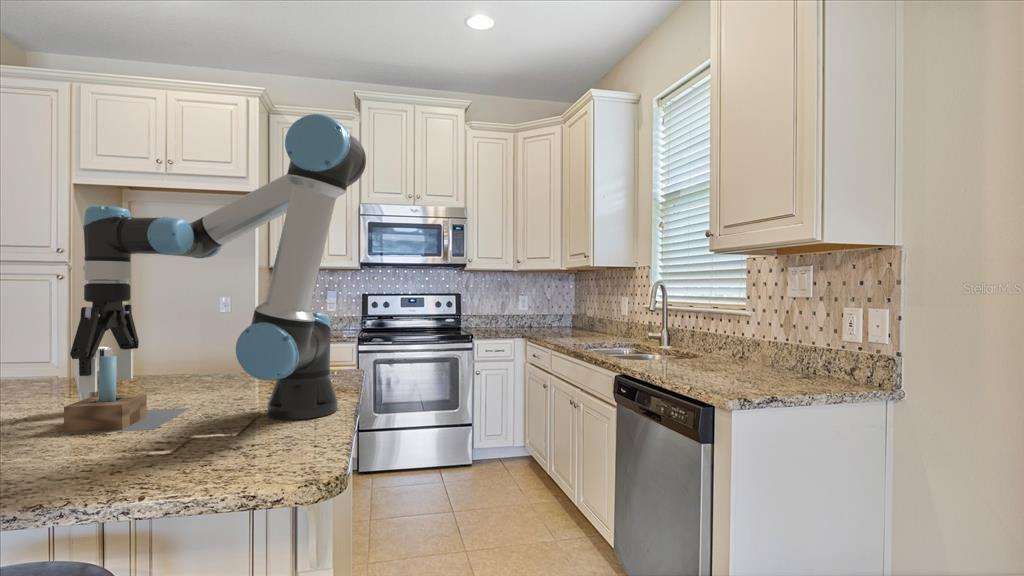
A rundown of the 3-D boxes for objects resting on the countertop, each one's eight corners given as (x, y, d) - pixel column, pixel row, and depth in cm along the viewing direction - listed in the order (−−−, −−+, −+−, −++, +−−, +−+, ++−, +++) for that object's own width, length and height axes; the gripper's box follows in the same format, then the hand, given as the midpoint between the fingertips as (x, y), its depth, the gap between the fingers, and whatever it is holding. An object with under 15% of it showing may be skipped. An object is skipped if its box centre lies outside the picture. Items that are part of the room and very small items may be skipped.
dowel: (118, 422, 107) (119, 355, 107) (110, 425, 105) (112, 357, 104) (103, 422, 107) (104, 355, 107) (95, 426, 104) (96, 357, 104)
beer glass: (96, 418, 113) (96, 350, 113) (65, 417, 113) (65, 349, 113) (121, 410, 120) (121, 346, 120) (91, 409, 120) (91, 345, 120)
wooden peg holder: (146, 416, 112) (146, 394, 112) (122, 429, 102) (122, 404, 102) (93, 419, 110) (93, 395, 110) (63, 432, 100) (63, 406, 100)
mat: (189, 410, 120) (190, 408, 120) (153, 432, 102) (153, 429, 102) (111, 413, 116) (111, 411, 116) (60, 437, 99) (60, 433, 99)
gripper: (119, 282, 117) (119, 375, 117) (45, 282, 93) (45, 399, 93) (156, 282, 119) (156, 374, 119) (93, 282, 94) (93, 397, 94)
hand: (107, 385), depth 106 cm, fingers open, 13 cm apart
